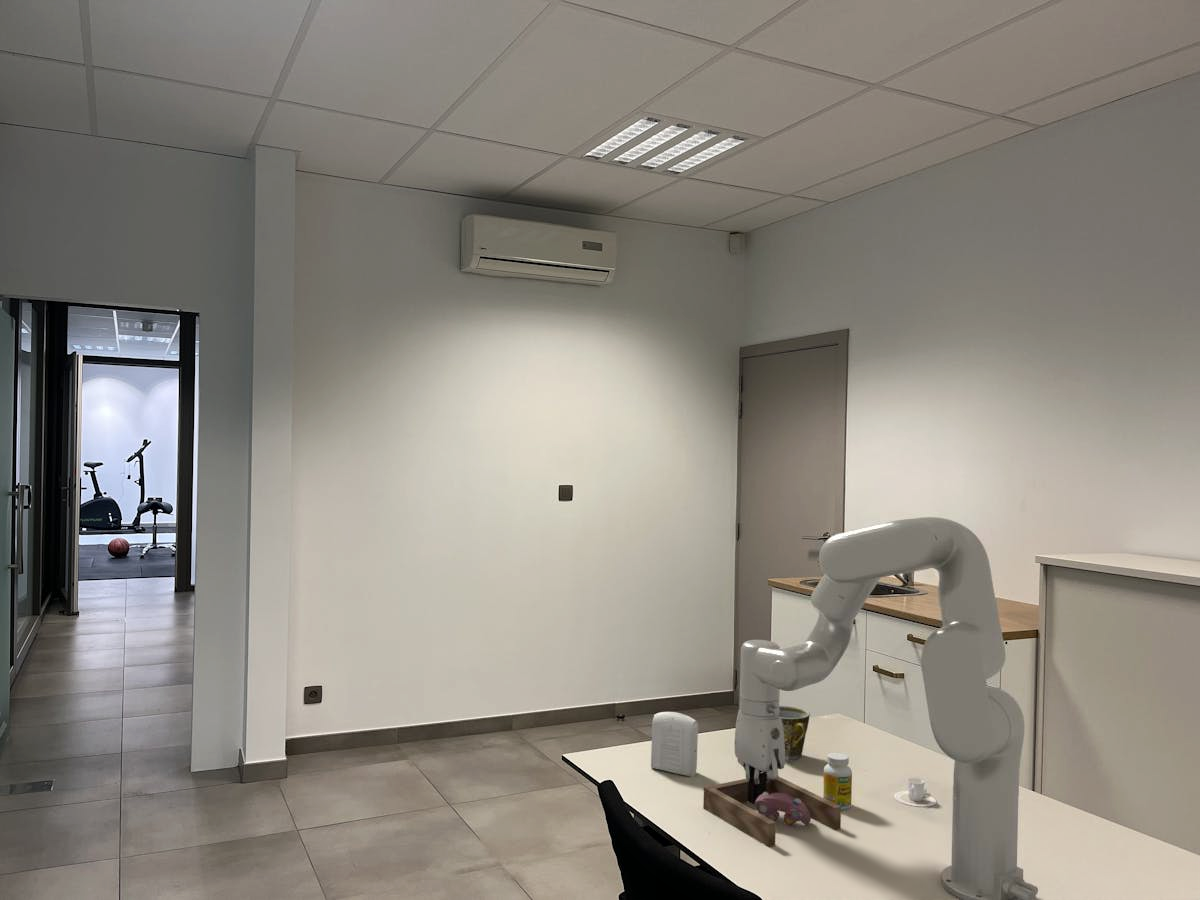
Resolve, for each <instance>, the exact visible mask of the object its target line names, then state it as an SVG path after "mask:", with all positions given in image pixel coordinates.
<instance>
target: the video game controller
mask: <svg viewBox="0 0 1200 900" xmlns="http://www.w3.org/2000/svg"><path fill="white" fill-rule="evenodd" d="M754 807H755V808H754V809H756V810H757V811H756V812H758V813H760V814H762V815H764V816H765V817H767V818H769V819H771V820H773V821H775V822H776V823H777V822H778V821H779V819H780V815H781V814H780V812H783V813H784V816H783V818H782V822H783V823H784V824H785V825H786V826H790V827H793V826H795V824H796V823H797V822H801V823H802V824H804V825H809V824H810V823H811V819H812V818H811V815H810V812H809V810H808V809H807V807H806V805H805V804H804V803H803V802H802V801H801V800H800V799H798V798H795V799H794V798H793V797H791V796H788V795H787V794H784V793H771V794H769V793H767V792H763V794H761V795H760V796H759V797H758V798H757V799H756V802H755V805H754Z"/></svg>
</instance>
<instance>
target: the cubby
mask: <svg viewBox="0 0 1200 900" xmlns="http://www.w3.org/2000/svg"><path fill="white" fill-rule="evenodd" d="M748 781H749V780H747V779H746V778H742V779H739V780H732V781H727V782H724V783H718V784H713V785H709V786H704V787H703V802H702V803H703V806H702V807H703V808H702V809H704V810H705V811H708V813H711V814H712V815H714V816H716V817H718V818H719V819H721V820H723V821H724V822H726V823H728V824H729V825H732V826H733V827H735V828H736V829H738V830H740V831H741V832H743V833H744V834H746V835H748V836H749V837H751V838H753V839H754V840H756V841H757V842H760V843H761V844H763V845H764V846H767V847H768V848H770V847H773V846H776V829H777V828H776V825H777V824H776V823H777V822H775V821H773V820H771V819H769V818H767V817H766V816H765V815H762V814H760V813H758V811H756V810H755V809H753V808H751V807H749V806H747V805H745V804H746V803H749V802H748ZM766 792H767V793H769V794H771V793H784V794H787V795H788V796H791V797H793V798H794V799H795V798H798V799H800V800H801V801H802V802H803V803H804V804H805V805H806V807H807V809H808V810H809V812H810V815H811V819H813V820H814V821H817V822H818V823H821V824H822V825H824V826H825V827H827V828H830V829H832V830H834V831H836V830H840V829H841V827H842V825H841V824H842V821H841V820H842V810H841V806H839V805H837V804H835V803H833V802H831V801H828V800H826V799H824V798H823V797H822V796H820V795H818V794H815V793H814V792H813V791H809V790H807V789H805V788H803V787H801V786H799V785H798V784H796V783H793V782H791V781H789V780H787V779H785V778H783V777H781V776H779V777H778V779H773V780H771V779H769V782H767V783H766Z"/></svg>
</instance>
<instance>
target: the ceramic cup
mask: <svg viewBox="0 0 1200 900" xmlns="http://www.w3.org/2000/svg"><path fill="white" fill-rule="evenodd" d="M779 709H780V712H779V717H781V719H782V724H783V731H784V744H785V762H795V761H799V760H800V758H801V757H802V756H803V750H804V745H805V739H806V735H807V731H808V727H809V721H810V716H811V715H810V712H809V711H807V710H806V709H804V708H803V709H802V708H801V707H800V708H799V707H795V706H787V705H779Z"/></svg>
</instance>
